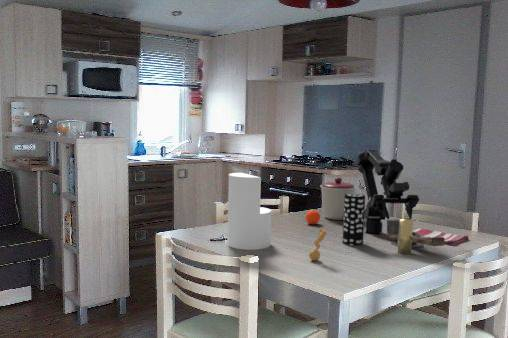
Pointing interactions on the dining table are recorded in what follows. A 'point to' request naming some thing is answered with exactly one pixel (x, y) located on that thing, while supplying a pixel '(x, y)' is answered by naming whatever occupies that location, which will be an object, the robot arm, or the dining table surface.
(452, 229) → the dining table surface
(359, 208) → the spotted tube
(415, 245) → the beam stand
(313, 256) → the figurine
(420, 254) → the dining table surface
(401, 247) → the brass weight
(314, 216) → the clementine
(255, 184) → the white stepped pillar
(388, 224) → the balance beam
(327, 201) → the canister
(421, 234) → the dish towel
